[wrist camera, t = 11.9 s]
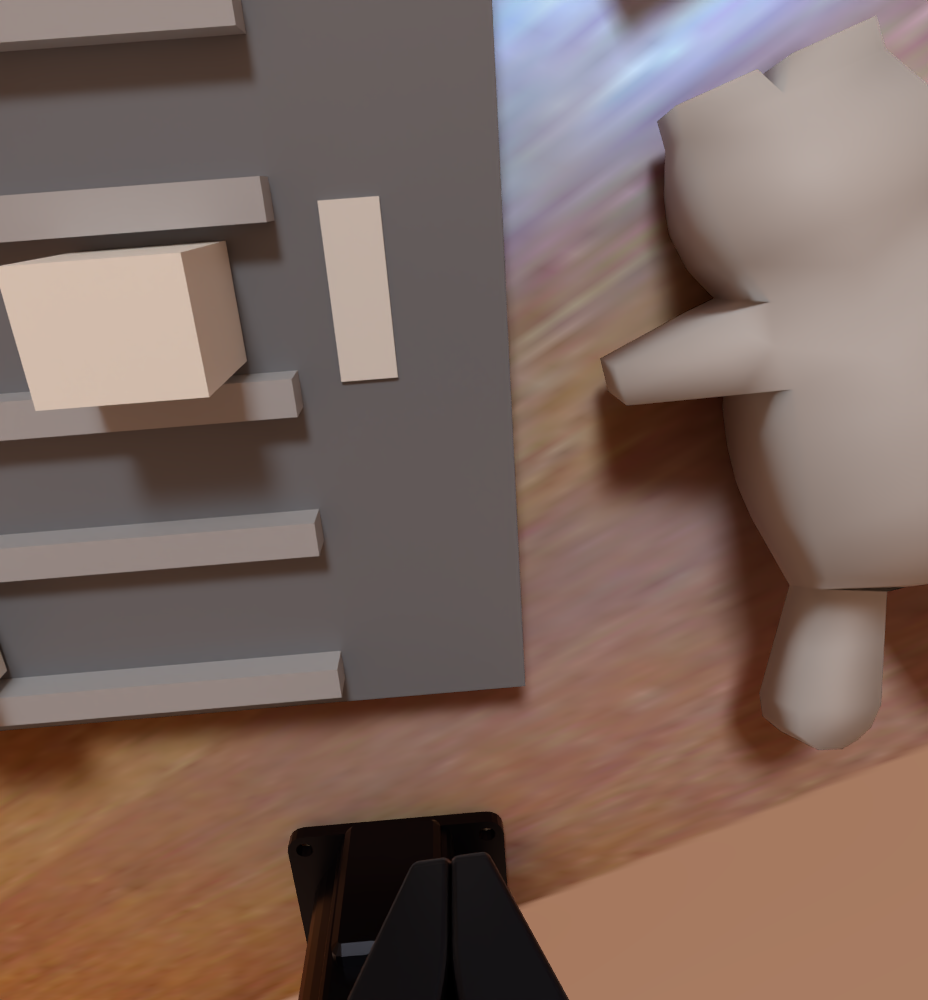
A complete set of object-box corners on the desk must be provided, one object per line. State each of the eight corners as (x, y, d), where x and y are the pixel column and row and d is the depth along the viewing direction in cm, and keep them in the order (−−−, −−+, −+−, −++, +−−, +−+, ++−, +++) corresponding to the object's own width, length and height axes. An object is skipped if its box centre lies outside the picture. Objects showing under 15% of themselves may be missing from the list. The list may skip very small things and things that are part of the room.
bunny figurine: (1101, -97, 12) (1233, 684, 16) (919, 12, 17) (1052, 590, 21) (545, 155, 13) (791, 833, 17) (524, 188, 18) (718, 710, 22)
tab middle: (246, 360, 16) (209, 397, 13) (103, 372, 16) (35, 411, 13) (225, 240, 15) (180, 252, 12) (73, 252, 15) (-7, 266, 12)
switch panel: (516, 643, 22) (528, 705, 19) (-135, 697, 21) (-213, 768, 19) (467, -303, 14) (476, -414, 11) (-543, -234, 14) (-769, -332, 11)
